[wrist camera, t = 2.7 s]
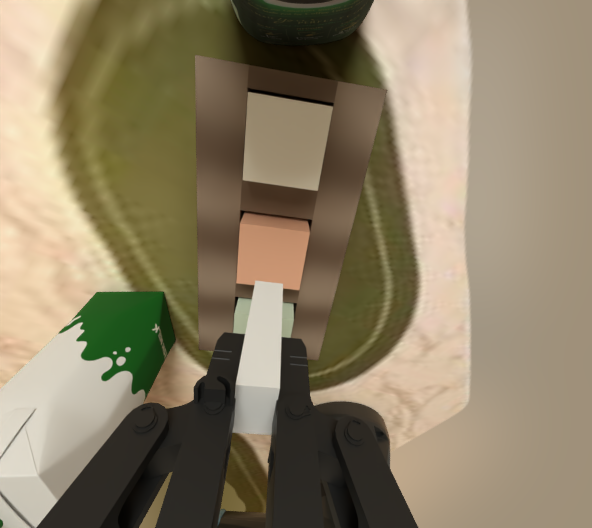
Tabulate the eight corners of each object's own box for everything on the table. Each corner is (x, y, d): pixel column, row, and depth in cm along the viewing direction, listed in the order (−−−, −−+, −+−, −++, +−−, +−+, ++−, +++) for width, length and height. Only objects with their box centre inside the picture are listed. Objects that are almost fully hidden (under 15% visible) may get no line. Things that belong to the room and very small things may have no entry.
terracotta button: (297, 269, 26) (299, 290, 23) (242, 262, 25) (236, 283, 22) (306, 216, 24) (309, 232, 20) (246, 208, 23) (239, 223, 20)
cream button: (313, 180, 22) (317, 190, 19) (249, 170, 22) (242, 180, 19) (326, 107, 20) (333, 106, 17) (254, 95, 19) (247, 92, 16)
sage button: (286, 335, 30) (286, 361, 26) (237, 331, 29) (231, 357, 26) (293, 296, 27) (293, 319, 24) (240, 290, 27) (234, 313, 24)
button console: (314, 327, 34) (318, 360, 29) (211, 317, 33) (198, 349, 28) (367, 94, 23) (387, 89, 18) (214, 66, 21) (195, 55, 17)
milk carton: (85, 284, 30) (-201, 528, 12) (172, 283, 30) (11, 522, 13) (110, 346, 34) (-79, 595, 17) (186, 345, 34) (80, 589, 17)
